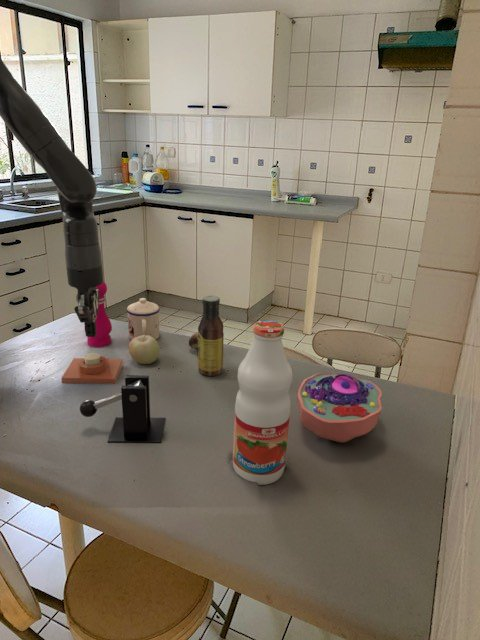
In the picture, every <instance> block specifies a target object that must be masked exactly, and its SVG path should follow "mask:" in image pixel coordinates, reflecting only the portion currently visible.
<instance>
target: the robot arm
mask: <svg viewBox="0 0 480 640" xmlns="http://www.w3.org/2000/svg"><path fill="white" fill-rule="evenodd" d="M0 118H1V120H2V121H3V122H4V124H5V125H6V127H7V128H8V129H9V131H10V132H11V133H12V135H13V136H14V137H15V139H16V140H17V141H18V143H20V145H21V146H22V148H24V150H25V151H26V152H27V153H28V155H29V156H30V157H31V158H32V159H33V161H34V162H36V163H37V165H39V167H41V168H42V169H43V171H44V172H45V173H46V174H47V176H48V177H49V179H50V180H51V181H52V183H53V184H54V185H55V187H56V190H57V197H58V201H59V206H60V207H59V208H60V212H61V215H62V230H63V238H64V258H65V265H66V266H65V267H66V268H65V269H66V276H67V284H68V286H70V288H71V287H72V288H74V289H76V290H77V293H75V299H76V302H77V305H75V306H74V312H75V314H76V317H77V318H78V320H79V322H80V324H81V323H83V325H84V333H85V337H86V338H87V337H95V335H96V334H97V330H96V320H95V319H96V318H97V316H96V314H98V307H99V295H100V290H96V287H97V286H100V285H101V284H102V283H103V281H104V270H103V269H104V268H103V258H102V257H103V256H102V249H101V244H100V235H99V226H98V220H97V218H96V216H95V214H94V205H93V200H94V199H95V197H96V196H97V192H98V187H97V181H96V180H95V178H94V176H93V175H92V173H91V172H90V171H89V170H88V168H87V167H86V166H85V165H84V163H82V161H81V160H80V159H79V158H78V156H77V155H76V154H75V153H74V152H73V151H72V150H71V149H70V147H69V146H68V145H67V143H66V141H65V139H64V138H63V137H62V135H61V134H60V133H59V131H58V130H57V128H56V127H55V126H54V124H53V123H52V122H51V121H50V119H49V118H48V116H46V114H45V113H44V112H43V110H42V109H41V108H40V107H39V106H38V103H36V102H35V100H34V99H33V98H32V97H31V96H30V94H29V93H28V92H27V91H26V90H25V89H24V87H22V85H21V84H20V83H19V81H18V80H17V78H16V77H15V76H14V75H13V74H12V72H11V71H10V70H9V68H8V67H7V65H6V64H5V62H4V61H3V59H2V58H1V57H0ZM104 282H105V281H104Z"/></svg>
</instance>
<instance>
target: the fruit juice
mask: <svg viewBox="0 0 480 640" xmlns="http://www.w3.org/2000/svg"><path fill="white" fill-rule="evenodd" d="M252 334H253V336H254V337H253V339H252V342H251V344H250V347H249V348H248V351H247V353H246V355H245V357H243V359H242V361H241V362H240V363H239V366H238V369H237V383H238V386H239V389H238V391H237V393H236V397H235V404H234V425H233V445H232V446H233V447H232V467H233V471H235V473H236V474H237V475H238V476H239V477H241V478H242V479H244V480H246V481H249V482H252V483H257V486H264V485H265V486H266V485H269V484H270V485H271V484H273V483H275V482H277V481H278V480H280V478H281V477H282V476H283V474H284V472H285V468H286V458H287V450H288V449H287V448H288V437H289V430H290V429H289V428H290V418H291V410H292V409H291V407H292V406H291V405H292V404H291V403H292V401H291V397H290V394H289V391H290V390H291V387H292V384H293V379H294V375H293V374H294V373H293V369H292V366H291V364H290V362H289V360H288V357H287V354H286V351H285V347H284V344H283V340H282V338H283V337H284V334H285V326H284V325H283V324H282V323H281V322H279V321H277V320H273V319H272V320H271V319H263V320H257V321H256V322H254V323H253V326H252Z"/></svg>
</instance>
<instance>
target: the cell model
mask: <svg viewBox="0 0 480 640" xmlns="http://www.w3.org/2000/svg"><path fill="white" fill-rule="evenodd" d="M382 396H383V392H382V390H381V388H380V387H379V386H378V385H377V384H375V383H374V382H372V381H370V380H369V379H367V378H366V379H365V378H362V377H359V376H356V375H352V374H350V373H334V372H318V373H316V374H313V375H311V376H309V377H307V378H305V379H303V381H302V383H301V384H300V385H299V387H298V390H297V397H296V400H297V407H298V411H299V414H300V415H299V419H300V422H301V424H302V425H303V427H305V428H306V429H307V430H308V431H310V432H311V433H313V434H314V435H316V436H318V437H320V438H322V439H325V440H329V441H333V442H336V443H341V444H342V443H343V444H344V443H348V442H350V441H351V440H353V439H355V438H360V437H362V436H364V435H367V434H368V433H370V432H371V431H372V430H373V429H374V428H375V427H376V426H377V425H378V422H379V418H380V415H381V412H382V409H383V407H382V402H381V399H382Z"/></svg>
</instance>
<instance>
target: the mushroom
mask: <svg viewBox="0 0 480 640" xmlns="http://www.w3.org/2000/svg"><path fill="white" fill-rule="evenodd" d="M188 346H189V347H190V348H192V349H197V350H198V331H197V332H195V333H193V334H192V335H191V336H190V337H189V339H188Z"/></svg>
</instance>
